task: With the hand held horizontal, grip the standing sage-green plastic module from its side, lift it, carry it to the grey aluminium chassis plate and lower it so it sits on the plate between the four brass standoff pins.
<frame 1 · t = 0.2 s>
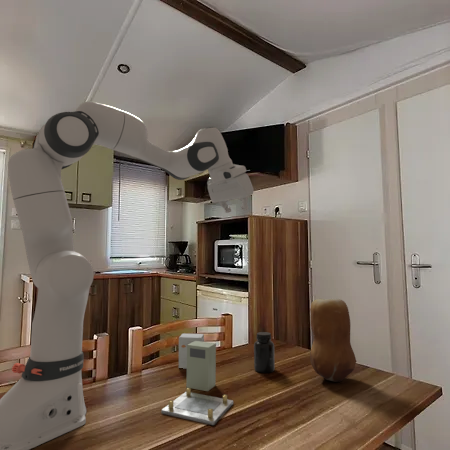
hand: (236, 211, 117), 54 cm above the table, tool tilted 25°, fingers open, 8 cm apart
supplement bottle: (264, 370, 112), on the table
module: (201, 386, 98), on the table
butternut squash: (332, 380, 103), on the table
chassis: (198, 408, 83), on the table
small box: (191, 367, 115), on the table
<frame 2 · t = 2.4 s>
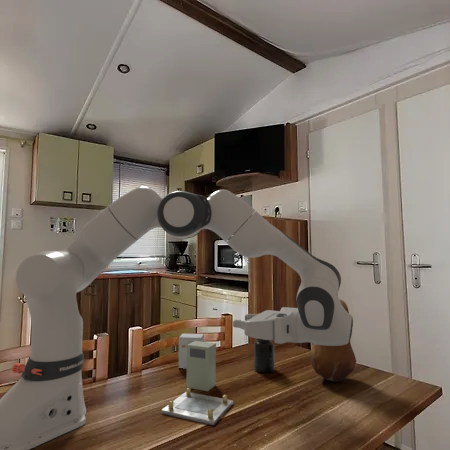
hand: (240, 320, 95), 20 cm above the table, tool horizontal, fingers open, 8 cm apart
nothing on the table moved.
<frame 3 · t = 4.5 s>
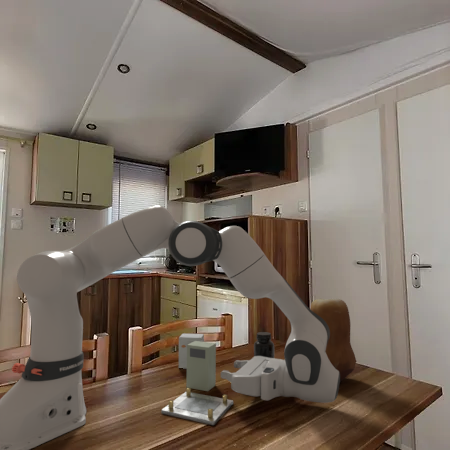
hand: (228, 368, 94), 6 cm above the table, tool horizontal, fingers open, 8 cm apart
nothing on the table moved.
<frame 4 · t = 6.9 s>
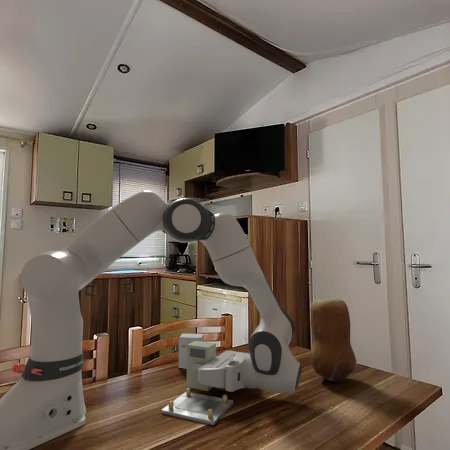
hand: (198, 362, 98), 7 cm above the table, tool horizontal, fingers closed on module, 5 cm apart
module: (201, 386, 98), on the table, touching gripper
everything else where it was.
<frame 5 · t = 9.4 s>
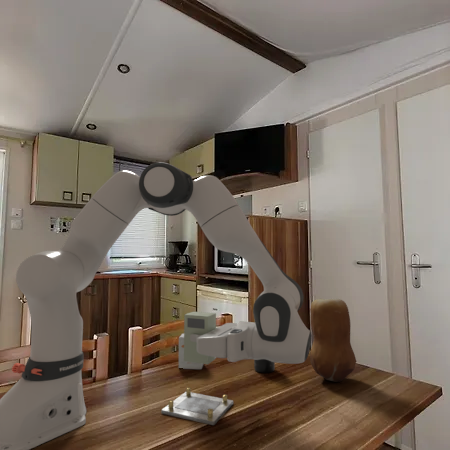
hand: (197, 334, 90), 17 cm above the table, tool horizontal, fingers closed on module, 5 cm apart
module: (199, 359, 89), point 10 cm above the table, touching gripper
everything else where it was.
when the fingers open (9 cm above the table, at t = 12.2 s): module drops 1 cm, resting on chassis.
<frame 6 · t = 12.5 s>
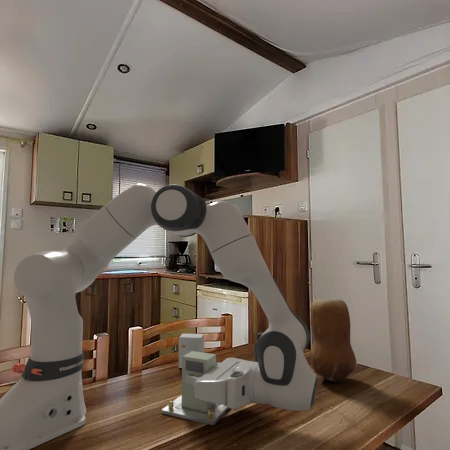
hand: (195, 372, 84), 9 cm above the table, tool horizontal, fingers open, 8 cm apart
module: (198, 404, 83), point 1 cm above the table, touching chassis
everything else where it was.
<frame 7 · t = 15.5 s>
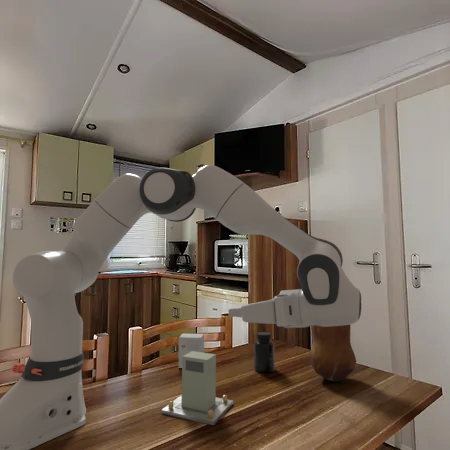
hand: (235, 311, 85), 24 cm above the table, tool horizontal, fingers open, 8 cm apart
nothing on the table moved.
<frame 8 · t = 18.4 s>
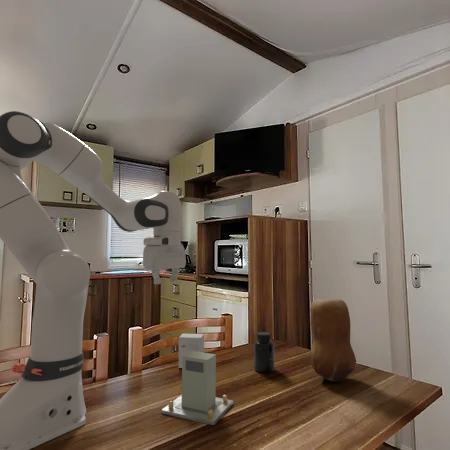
hand: (165, 282, 109), 29 cm above the table, tool pointing down, fingers open, 8 cm apart
nothing on the table moved.
at the end: module 0.0 cm from the chassis (horizontally); module tilted 0°; module touching chassis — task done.
